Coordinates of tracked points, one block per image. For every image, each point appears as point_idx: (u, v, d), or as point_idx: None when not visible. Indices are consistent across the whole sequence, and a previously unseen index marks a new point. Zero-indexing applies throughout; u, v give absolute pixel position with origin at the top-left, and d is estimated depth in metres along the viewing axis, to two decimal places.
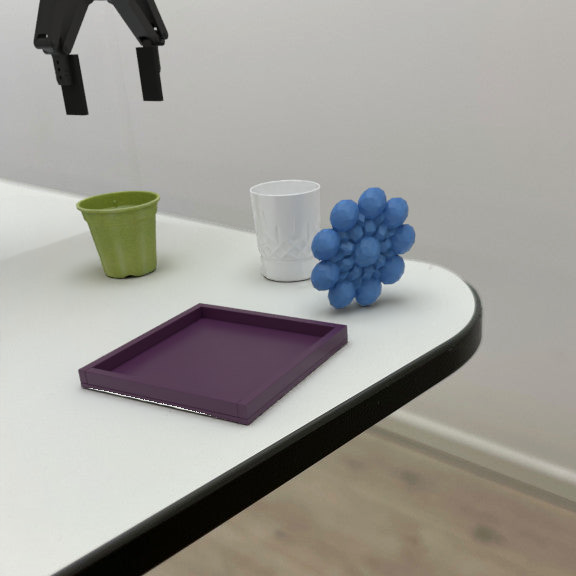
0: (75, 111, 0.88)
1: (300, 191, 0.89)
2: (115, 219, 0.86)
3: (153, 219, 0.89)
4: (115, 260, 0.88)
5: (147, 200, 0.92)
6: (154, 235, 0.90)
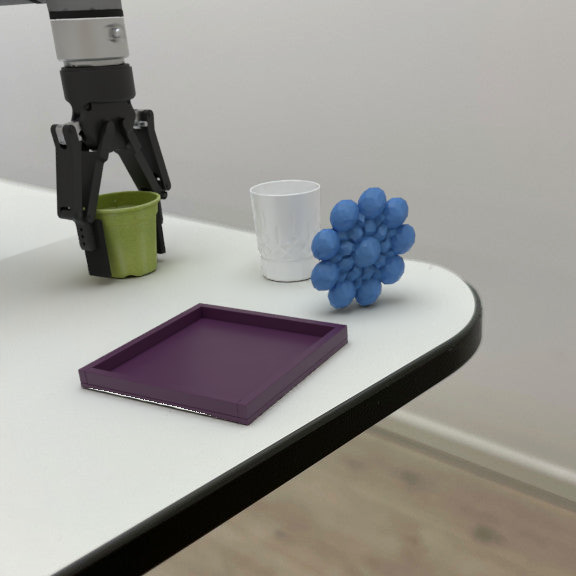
0: (98, 273, 0.87)
1: (300, 191, 0.89)
2: (116, 219, 0.86)
3: (153, 219, 0.89)
4: (115, 260, 0.89)
5: (147, 200, 0.92)
6: (154, 235, 0.90)
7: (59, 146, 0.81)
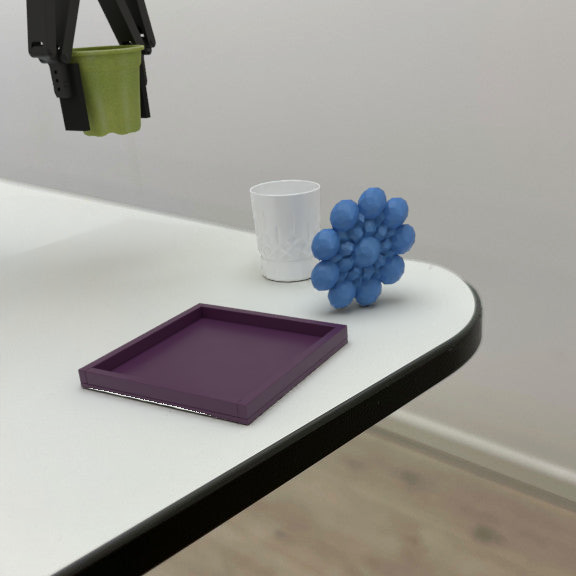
0: (75, 126, 0.79)
1: (300, 191, 0.89)
2: (94, 63, 0.77)
3: (137, 70, 0.81)
4: (95, 114, 0.80)
5: None
6: (138, 90, 0.82)
7: None
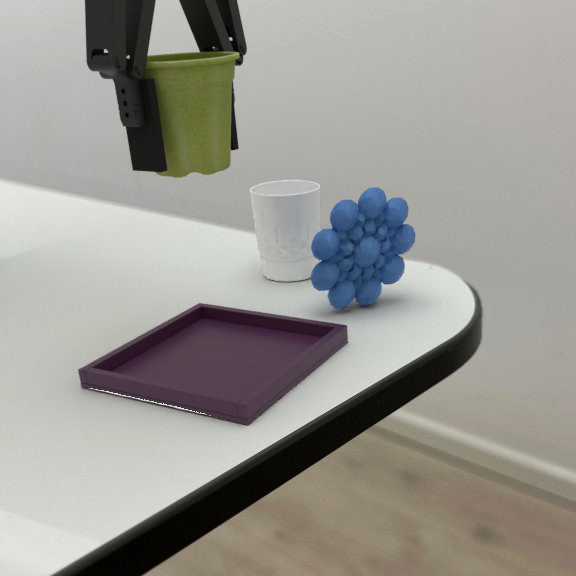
0: (147, 165, 0.57)
1: (300, 191, 0.89)
2: (176, 79, 0.55)
3: (229, 87, 0.59)
4: (173, 148, 0.58)
5: None
6: (230, 113, 0.60)
7: None
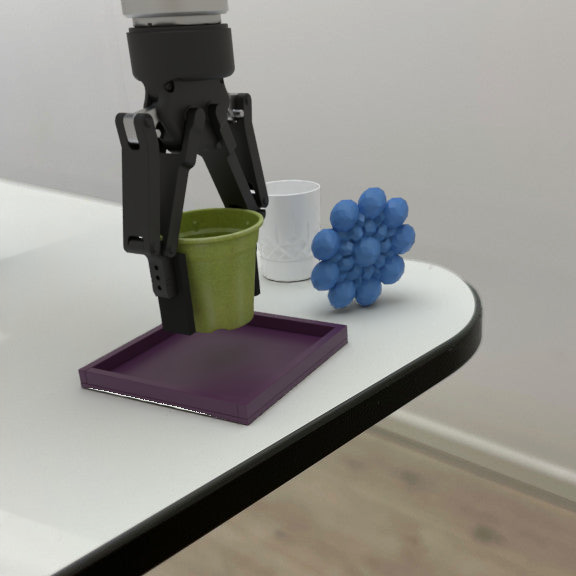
0: (177, 328, 0.61)
1: (300, 191, 0.89)
2: (205, 252, 0.59)
3: (254, 250, 0.63)
4: (201, 309, 0.62)
5: (241, 221, 0.66)
6: (254, 272, 0.64)
7: (127, 146, 0.54)
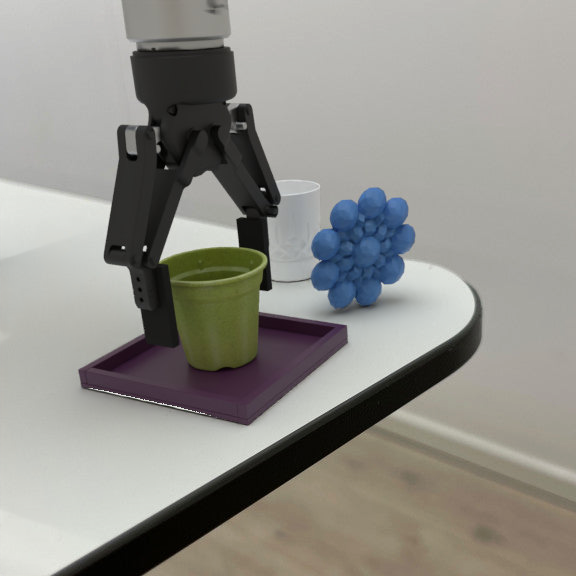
0: (160, 341, 0.59)
1: (300, 191, 0.89)
2: (211, 294, 0.60)
3: (258, 290, 0.64)
4: (206, 348, 0.63)
5: (245, 260, 0.67)
6: (258, 311, 0.65)
7: (125, 157, 0.54)
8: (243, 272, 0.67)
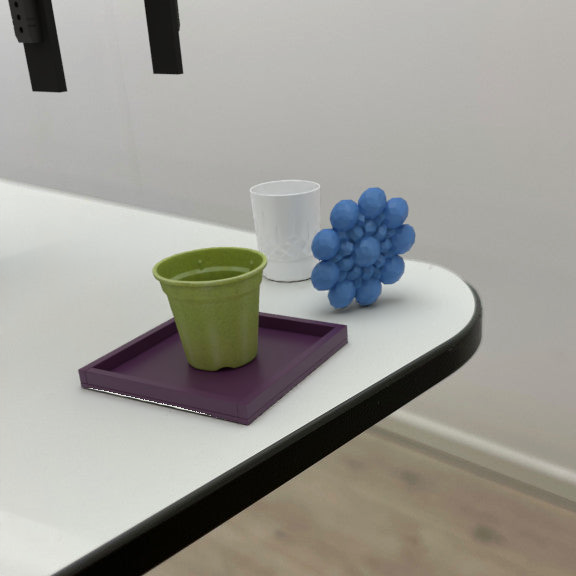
0: (46, 86, 0.56)
1: (300, 191, 0.89)
2: (211, 294, 0.60)
3: (258, 290, 0.64)
4: (206, 348, 0.63)
5: (245, 260, 0.67)
6: (258, 311, 0.65)
7: None
8: (243, 272, 0.67)
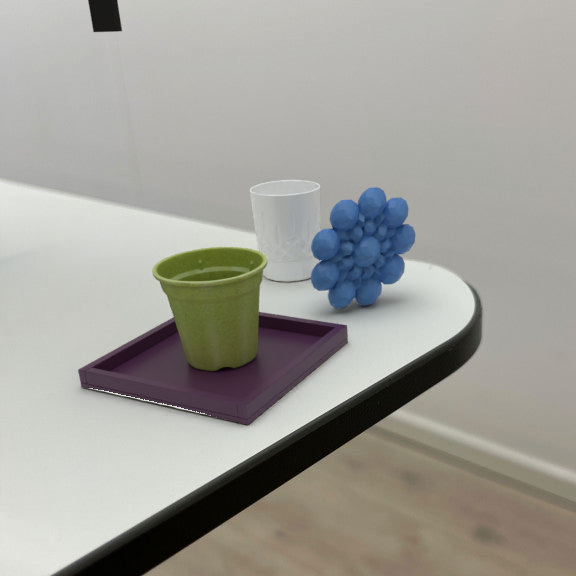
0: None
1: (300, 191, 0.89)
2: (211, 294, 0.60)
3: (258, 290, 0.64)
4: (206, 348, 0.63)
5: (245, 260, 0.67)
6: (258, 311, 0.65)
7: None
8: (243, 272, 0.67)
